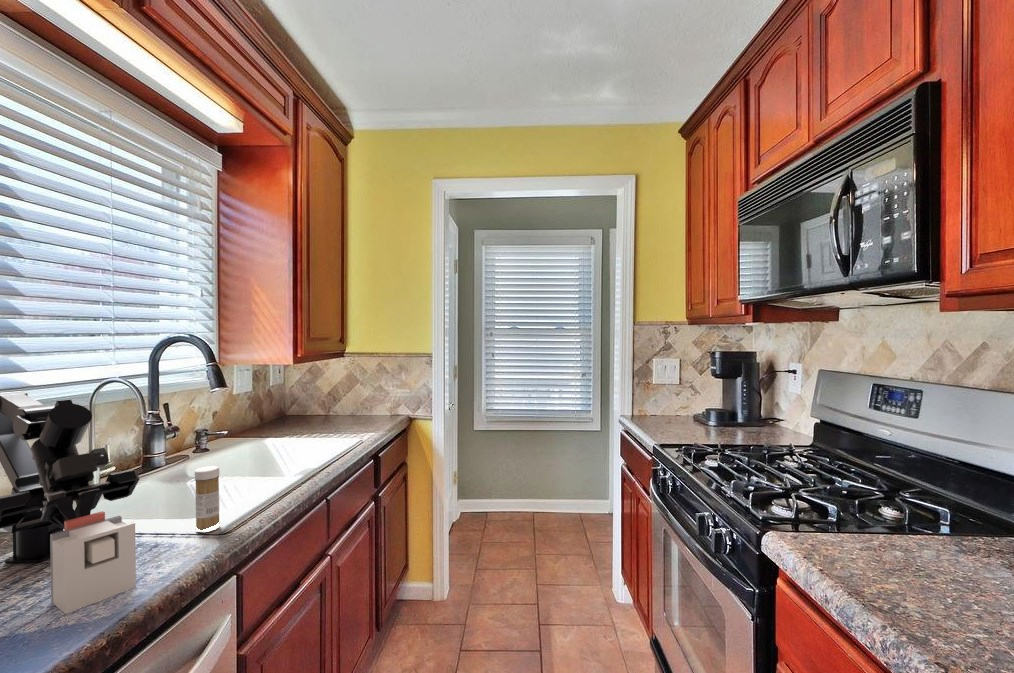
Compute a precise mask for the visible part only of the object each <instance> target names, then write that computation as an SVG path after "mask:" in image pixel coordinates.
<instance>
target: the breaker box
mask: <svg viewBox="0 0 1014 673" xmlns="http://www.w3.org/2000/svg"><path fill="white" fill-rule="evenodd" d="M122 518H123V516H121V515H116V516H112V517H109V518H105V520H101V521H97V522H94V523H90V524H87V525H83V526H79V527H76V528H72V529H68V530H65V531H61V532H57V533H54V534H50V555H51V557H50V602H51V603H52V604H53V605H54V606H55V607H57V608H58V609H59V610H60V611H61V612H62V613H64V614H65V615H67V614H70V613H72V612H75V611H78V610H80V609H83V608H86V607H87V605H88V606H91V605H92V604H95V603H97V602H98V603H99V602H100V601H103V600H105V599H108V598H111V597H113V596H116V595H119V594H121V593H123V592H126V591H129V590H132V589H133V588H136V587H137V579H136V578H137V575H136V574H137V571H136V569H137V566H136V565H137V564H136V561H137V560H136V558H137V557H136V523H135V522H134V521H133V522H129V523H127V522H125V521H123V520H122ZM106 535H107V536H109V537H111V538H113V539H114V546H115V556H114V557H111V558H108V559H105V560H102V561H99V562H96V563H93V564H92V563H91V562H89V561H88V560H86V559H85V558H84V542H85V541H89V540H92V539H95V538H99V537H102V536H106ZM82 607H83V608H82ZM77 609H78V610H77Z"/></svg>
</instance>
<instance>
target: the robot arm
mask: <svg viewBox="0 0 1014 673" xmlns="http://www.w3.org/2000/svg"><path fill="white" fill-rule="evenodd" d="M92 418H93V414H92V411H91V410H90V409H88V408H87V407H86V406H83V405H81V404H79V403H78V404H77V403H73V401H72V399H71V398H70V399H69V398H68V399H61V400H60V399H59V400H56V402H55V403H54V404H52V403H51V404H44V403H42V402H40V401H38V400H36V399H35V398H32V397H31V396H29V395H28V393H27V391H22V390H18V391H17V390H15V391H6V392H5V391H4V392H0V465H1V467H2V468H3V471H4V473H5V474H6V476H7V478H8V480H9V482H10V484H11V486H12V489H11V494H7V495H1V496H0V530H1V529H3V530H5V531H6V532H8V533H9V534H12V556H11V557H9V558H6V559H5V560H4V564H16V563H17V564H21V563H22V564H24V563H25V564H26V563H28V564H29V563H40V562H43V561H45V560H47V559H49V558H51V555H50V534H54V533H57V532H61V531H64V521H67V520H71V519H75V518H79V517H83V516H87V515H90V514H92V512H91V511H92V510H94V509H95V508H97V506H98V503H99V502H100V499H101V497H103V499H104V500H106V501H110V502H113V501H116V500H121V499H124V498H128V497H130V496H131V495H132V494H133V492H134V491H135V488H136V487H137V485H138V483H139V481H140V477H139V474H138V472H137V471H136V470H134V469H131V468H129V469H127V470H121V471H116V472H112V473H109V474H108V476H107V477H106V480H105V481H104V482H99V483H96V484H95V483H94V484H91V485H90V483H89V482H92V481H93V479H94V478H95V475H94V472H97V471H98V470H99V468H104V467H106V466H107V465H108V464H109V461H110V460H109V454H108V452H107V449H106V448H105V447H99V448H93V449H92V450H90V451H89V452H88V453H82V454H80V453H79V451H78V448H77V444H79V443H81V442H82V440H83V438H84V436H85V433H86V431H87V429H88V427H89V424H90V422H91V421H92V420H93V419H92ZM30 440H31V441H32V440H35V441H34V442H33V443H32V445H31V446H30V444H29V443H28V441H30ZM74 502H75V505H76V506H75V508H74Z"/></svg>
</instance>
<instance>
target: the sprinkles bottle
mask: <svg viewBox="0 0 1014 673" xmlns="http://www.w3.org/2000/svg"><path fill="white" fill-rule="evenodd" d="M219 478H220V467H219V465H218V466H217V465H208V466H202V467H198V468H196V469H195V470H194V481H195V494H194V495H195V519H196V520H195V526H196V527H197V528H198V529H200V530H203V529H206V528H209V527H211V526H214V525H216V524H217V523H218V522H219V523H220V486H219V485H220V483H219V481H220V480H219ZM196 527H195V528H196Z"/></svg>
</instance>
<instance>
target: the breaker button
mask: <svg viewBox="0 0 1014 673" xmlns="http://www.w3.org/2000/svg"><path fill="white" fill-rule="evenodd" d="M105 519H106V512H105V511H98V512H95V513H90V515H87V516H83V517H79V518H75V519H71V520H67V521H64V531H65V530H68V529H72V528H76V527H79V526H83V525H87V524H90V523H94V522H97V521H101V520H105ZM114 556H115V546H114V539H113V538H111V537H109V536H107V535H106V536H102V537H99V538H95V539H92V540H89V541H85V542H84V558H85V559H86V560H88V561H89V562H91V563H92V564H93V563H96V562H99V561H102V560H105V559H108V558H111V557H114Z"/></svg>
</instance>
